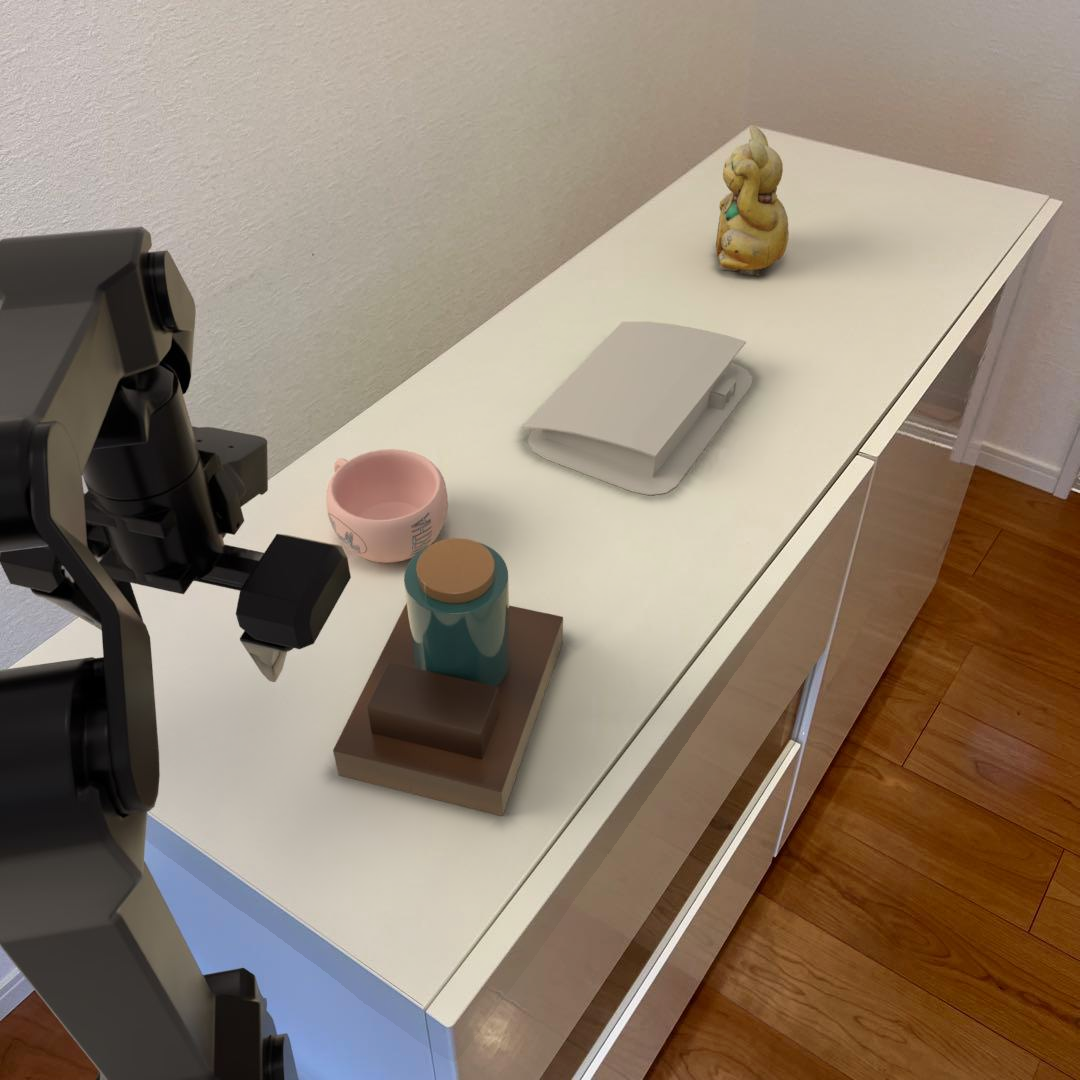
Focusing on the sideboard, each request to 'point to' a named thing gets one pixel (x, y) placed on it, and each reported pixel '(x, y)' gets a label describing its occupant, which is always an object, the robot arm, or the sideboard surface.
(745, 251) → the decorative figurine
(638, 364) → the grey flat folded piece
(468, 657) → the jar
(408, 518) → the mug
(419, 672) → the stand
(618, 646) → the sideboard surface
